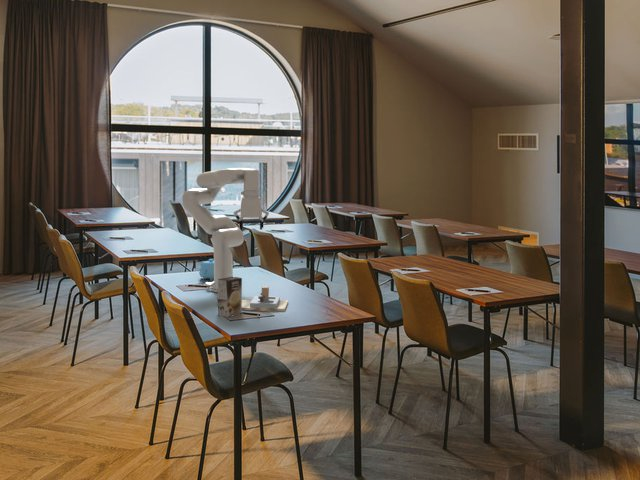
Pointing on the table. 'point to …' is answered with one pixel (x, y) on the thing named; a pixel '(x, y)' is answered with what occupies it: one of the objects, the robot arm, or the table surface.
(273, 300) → the panel
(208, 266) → the teapot
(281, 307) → the board
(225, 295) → the coffee box
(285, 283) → the table surface
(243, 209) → the robot arm
